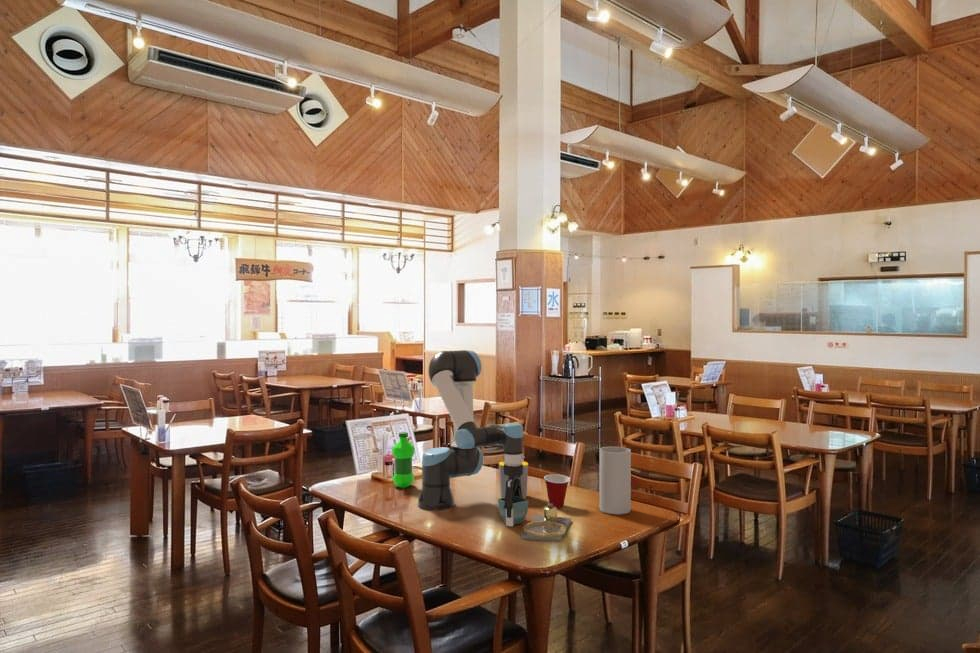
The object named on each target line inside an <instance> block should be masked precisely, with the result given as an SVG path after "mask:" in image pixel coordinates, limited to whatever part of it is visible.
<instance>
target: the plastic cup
mask: <svg viewBox="0 0 980 653" xmlns="http://www.w3.org/2000/svg"><path fill="white" fill-rule="evenodd" d="M543 479H544V482H545V487H546V494H547V498H548V503H552V504H553V507H556V508H557V509H558V508H559V509H560V508H563V507H564V505H565V500H566V495H567V489H568V484H569V482H570V481H571V479H570V478H569V477H568V476H565V475H562V474H547V475H544V476H543Z"/></svg>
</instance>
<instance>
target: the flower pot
mask: <svg viewBox="0 0 980 653" xmlns="http://www.w3.org/2000/svg"><path fill="white" fill-rule="evenodd" d="M529 502H530V500H529V499H526V498H525V499H524V498H520V497H517V496H514V500H513V526H514V525H518V524H522V523H523V522H524V521H525V519H526V518H527V515H528V509H529V504H530V503H529ZM497 503H498V510H499V515H500V517H501V519H502V521H503V522H504V523H506V509H504V504H505V498H501V497H500V498H498V499H497Z"/></svg>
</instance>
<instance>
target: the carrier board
mask: <svg viewBox="0 0 980 653" xmlns="http://www.w3.org/2000/svg"><path fill="white" fill-rule="evenodd" d="M571 522H572V518H571V517H562V516H561V517H560V516H558V508H556V507H553V504H552V503H549V502H548V503H547V506H544V507H543V515H540V514H539V515H538V514H535V515H534V517H533V518H532V520H531V521H530V522H528V523H527V522H526V523H525V524H524V526H523V527H522V530H523V531H522V533H521V534H520V539H521V540H528V541H529V540H530V541H531V540H532V541H538V542H539V541H541V542H550V543H561V541H562V539H563V538H564V535H565V533H566V532H567V530H568V528H569V526H570V524H571Z"/></svg>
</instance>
